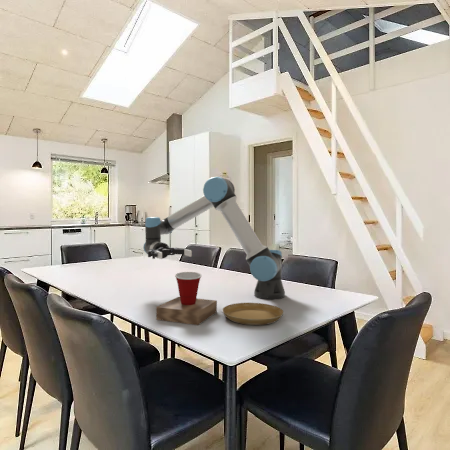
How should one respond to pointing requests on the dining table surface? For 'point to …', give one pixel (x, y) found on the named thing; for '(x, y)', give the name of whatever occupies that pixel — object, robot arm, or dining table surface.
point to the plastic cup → (188, 286)
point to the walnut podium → (186, 311)
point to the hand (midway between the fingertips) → (176, 254)
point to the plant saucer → (252, 313)
